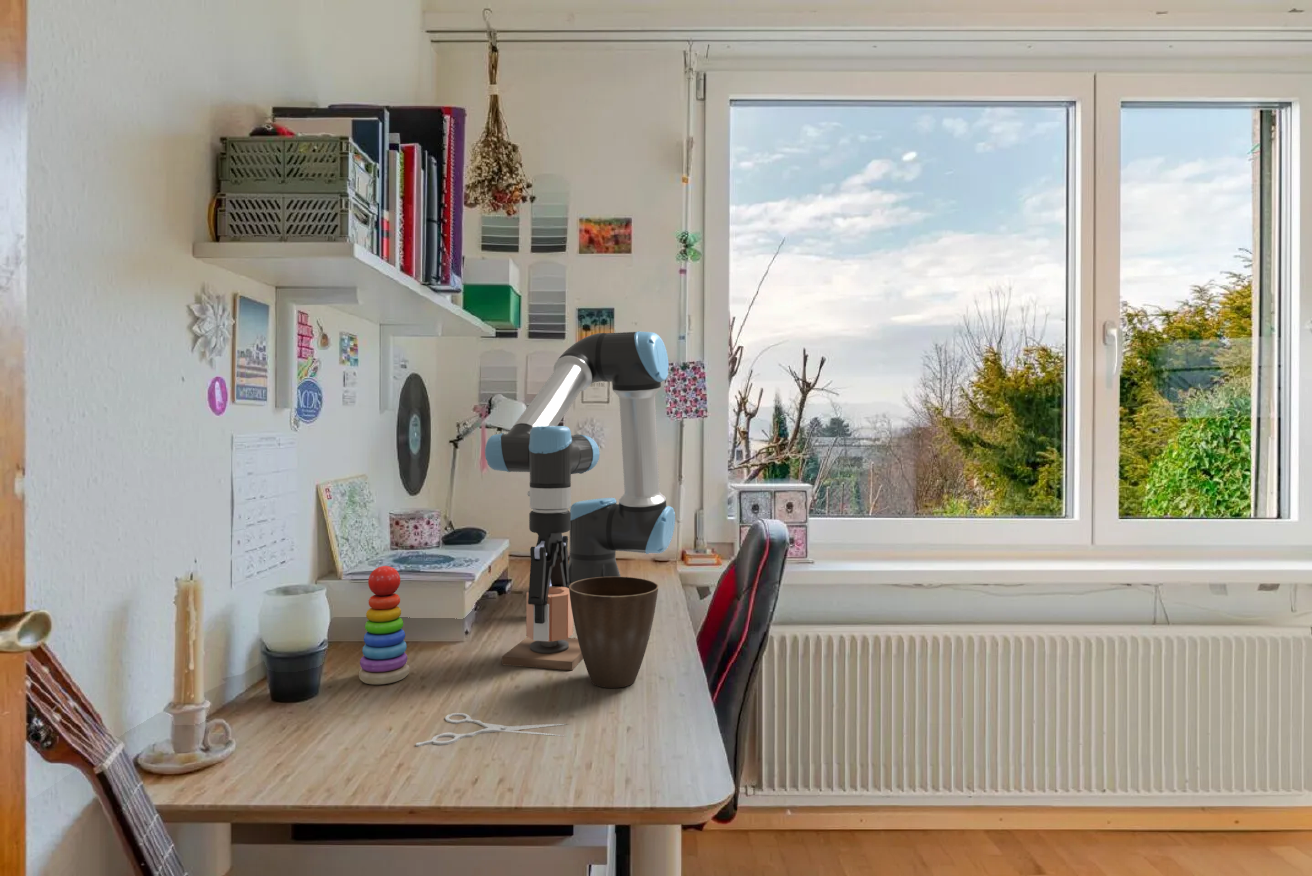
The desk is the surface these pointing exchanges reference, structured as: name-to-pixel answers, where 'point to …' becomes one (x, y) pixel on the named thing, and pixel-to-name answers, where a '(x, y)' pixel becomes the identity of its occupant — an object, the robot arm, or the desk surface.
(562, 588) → the ring
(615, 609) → the plant pot
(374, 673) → the stacking toy
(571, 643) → the post stand
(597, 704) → the desk surface
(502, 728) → the scissors
